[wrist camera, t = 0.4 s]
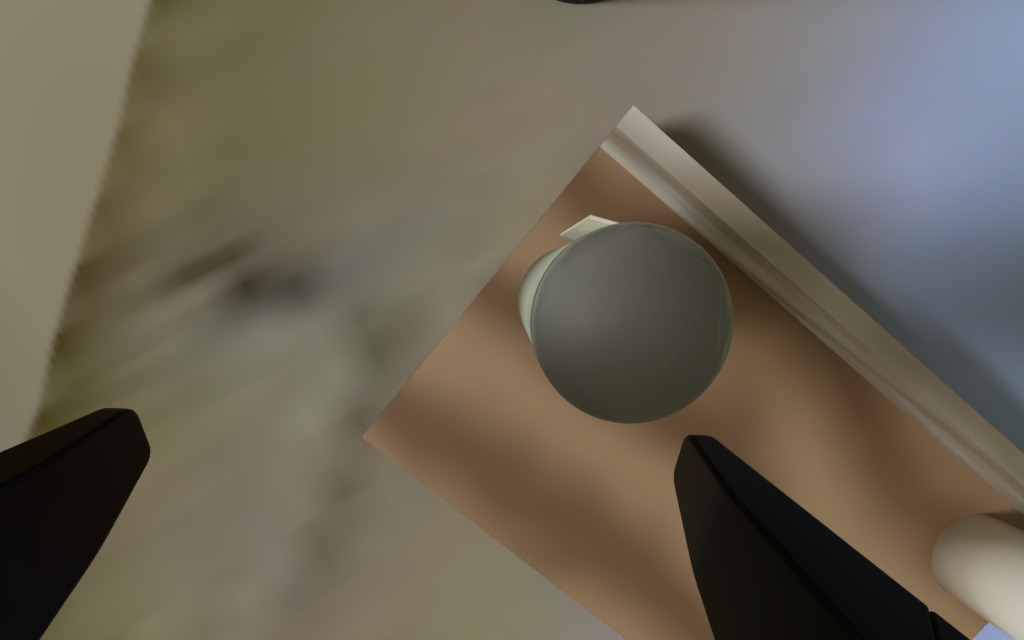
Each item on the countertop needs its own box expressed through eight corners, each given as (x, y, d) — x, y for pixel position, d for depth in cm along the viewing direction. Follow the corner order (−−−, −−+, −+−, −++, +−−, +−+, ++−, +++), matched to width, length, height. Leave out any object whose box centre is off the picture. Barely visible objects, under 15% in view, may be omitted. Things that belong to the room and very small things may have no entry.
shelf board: (817, 777, 26) (871, 863, 22) (366, 431, 23) (341, 462, 19) (1054, 524, 25) (1154, 569, 21) (610, 133, 22) (633, 105, 18)
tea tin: (610, 368, 22) (699, 445, 13) (504, 340, 22) (508, 395, 12) (641, 261, 22) (759, 252, 12) (533, 231, 22) (563, 197, 12)
